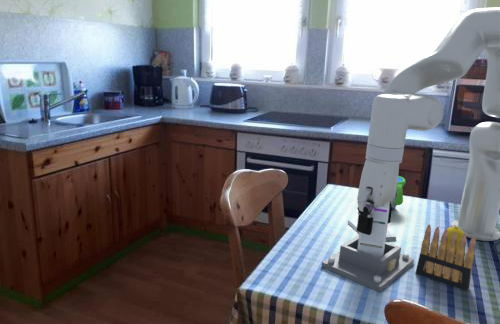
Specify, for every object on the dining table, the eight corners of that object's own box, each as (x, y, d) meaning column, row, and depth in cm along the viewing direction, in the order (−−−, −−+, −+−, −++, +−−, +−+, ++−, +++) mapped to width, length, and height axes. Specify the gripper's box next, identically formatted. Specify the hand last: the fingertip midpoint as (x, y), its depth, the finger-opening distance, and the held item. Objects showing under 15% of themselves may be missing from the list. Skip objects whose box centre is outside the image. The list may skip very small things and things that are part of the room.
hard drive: (396, 236, 109) (373, 218, 121) (368, 237, 108) (348, 219, 119) (395, 242, 110) (372, 223, 122) (367, 243, 108) (347, 224, 120)
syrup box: (381, 269, 91) (391, 207, 88) (354, 263, 93) (362, 203, 89) (382, 257, 97) (391, 199, 93) (356, 252, 98) (364, 195, 95)
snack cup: (410, 216, 128) (416, 184, 125) (378, 215, 126) (383, 184, 124) (387, 198, 143) (392, 170, 140) (359, 198, 141) (362, 170, 139)
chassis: (359, 243, 106) (361, 226, 105) (413, 263, 97) (416, 245, 96) (321, 266, 93) (323, 247, 92) (379, 292, 84) (383, 271, 83)
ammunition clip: (415, 273, 93) (423, 224, 90) (417, 270, 94) (426, 221, 91) (467, 291, 87) (478, 239, 84) (469, 288, 88) (480, 236, 85)
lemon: (463, 255, 103) (469, 225, 101) (461, 264, 99) (468, 233, 97) (439, 249, 106) (444, 220, 104) (436, 257, 101) (442, 227, 99)
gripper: (385, 145, 97) (375, 213, 102) (348, 155, 85) (339, 232, 89) (416, 151, 93) (405, 222, 97) (383, 162, 80) (371, 243, 84)
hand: (373, 227), depth 93 cm, fingers open, 9 cm apart
